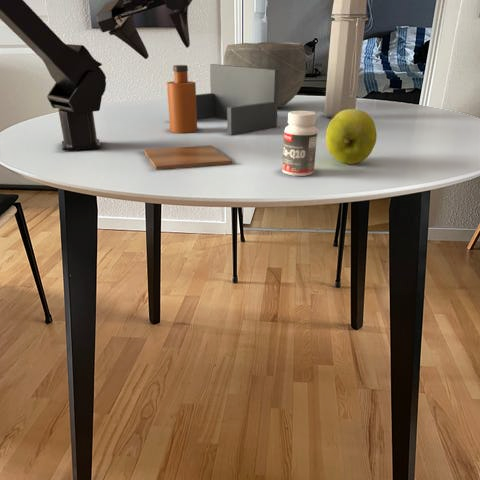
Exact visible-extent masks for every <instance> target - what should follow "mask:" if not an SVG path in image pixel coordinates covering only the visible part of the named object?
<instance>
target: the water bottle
mask: <svg viewBox="0 0 480 480" xmlns="http://www.w3.org/2000/svg"><path fill="white" fill-rule="evenodd" d="M330 17H331V18H332V19H334V20H332V21H331V28H330V40H329V49H328V50H329V51H328V63H327V75H326V86H325V87H326V88H325V98H324V110H323V111H324V112H323V113H324V114H325V116H326V117H327V118H330V119H333V118H334V117H335V116H336V115H337V114H338V113H339V112H341V111H343V110H347V109H356V106H357V98H358V97H357V96H358V89H359V80H360V71H361V63H362V54H363V44H364V36H365V35H364V34H365V27H366V21H368V20H369V17H367V0H333V4H332V10H331V15H330Z"/></svg>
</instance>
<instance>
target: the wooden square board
mask: <svg viewBox="0 0 480 480" xmlns="http://www.w3.org/2000/svg"><path fill="white" fill-rule="evenodd" d="M143 153H144V155H145V156H146V157H147V159H148V160H149V162H150V163H151V164H152V166H153V167H154V169H155V170H157V171H158V170H168V169H181V168H182V169H183V168H193V167H194V168H195V167H208V166H219V165H220V166H221V165H231V164H232V160H231V159H230V158H229V157H227V156H226V155H225V154H223V153H222V152H220V151H219V149H217V148H215V146H213V145H212V144H207V145H195V146H194V145H193V146H179V147H163V148H151V149H150V148H148V149H143Z"/></svg>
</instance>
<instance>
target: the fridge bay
mask: <svg viewBox="0 0 480 480" xmlns="http://www.w3.org/2000/svg"><path fill="white" fill-rule="evenodd" d="M209 75H210V78H209V79H210V80H209V81H210V83H209V84H210V93H209V92H208V93H200V94H196V110H197V120H201V119H206V118H213V117H215V118H221V119H225V120H227V121H226V123H227V124H226V125H227V134H226V135H228V136H229V135H230V136H233V135H239V134H240V135H241V134H245V133H250V132H257V131H262V130H267V129H273V128H277V127H278V110H279V109H278V107H279V106H278V84H279V70H276V69H265V68H253V67H242V66H230V65H224V64H217V63H211V64H209Z"/></svg>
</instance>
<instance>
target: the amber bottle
mask: <svg viewBox="0 0 480 480" xmlns="http://www.w3.org/2000/svg"><path fill="white" fill-rule="evenodd" d="M188 70H189V66H188V65H187V64H175V65H174V64H173V66H172V71H173V78H174V81H173V80H172V81H168V82H166V88H167V89H166V90H167V103H168V121H169V131H170V132H171V133H176V134H190V133H191V134H192V133H195V132H197V131H198V119H197V110H196V95H197V87H196V85H197V84H196V82H195V81H192V80H190V81H189V78H188Z"/></svg>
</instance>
